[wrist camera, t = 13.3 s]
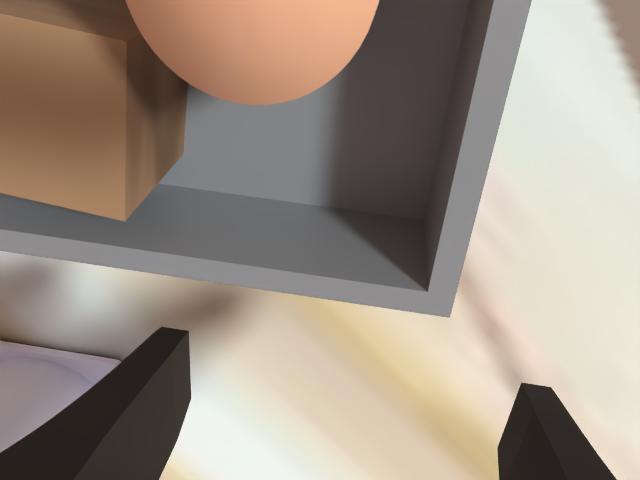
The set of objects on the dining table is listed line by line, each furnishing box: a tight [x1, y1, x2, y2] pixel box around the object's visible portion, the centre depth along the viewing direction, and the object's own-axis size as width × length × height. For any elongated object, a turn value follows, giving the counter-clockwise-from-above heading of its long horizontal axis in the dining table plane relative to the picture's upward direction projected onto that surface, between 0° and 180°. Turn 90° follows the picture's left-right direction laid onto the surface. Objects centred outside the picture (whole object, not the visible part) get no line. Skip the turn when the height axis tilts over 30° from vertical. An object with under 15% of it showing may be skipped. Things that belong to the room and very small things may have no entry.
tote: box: [0, 0, 532, 318], centre depth 17 cm, size 14×18×5 cm
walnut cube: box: [0, 0, 188, 221], centre depth 17 cm, size 5×5×5 cm
